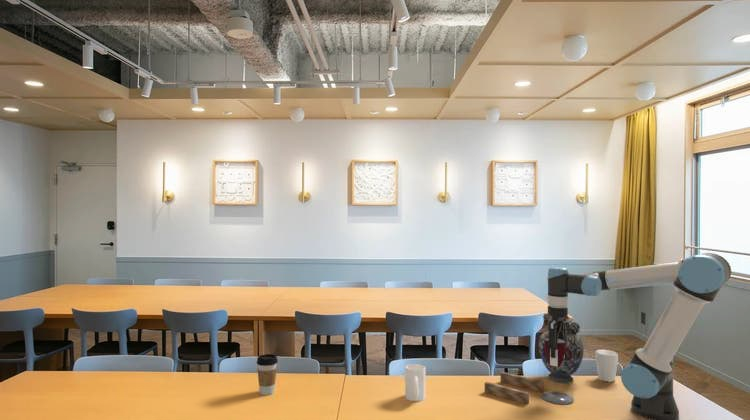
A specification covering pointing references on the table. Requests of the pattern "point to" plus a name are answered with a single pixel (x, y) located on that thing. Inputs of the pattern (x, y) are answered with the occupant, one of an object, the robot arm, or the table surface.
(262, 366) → the coffee cup
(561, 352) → the mug
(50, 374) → the table surface
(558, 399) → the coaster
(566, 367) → the decorative vase
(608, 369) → the cup
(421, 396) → the mug
